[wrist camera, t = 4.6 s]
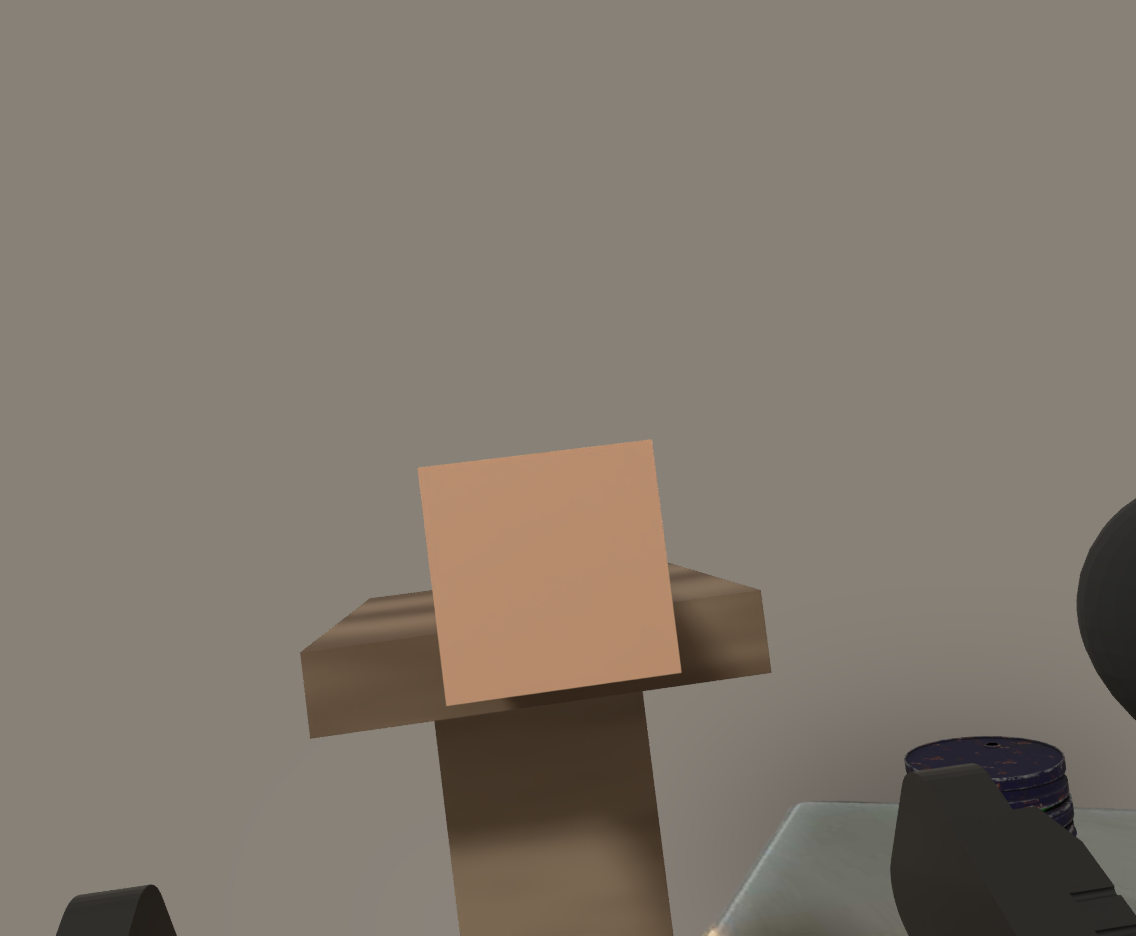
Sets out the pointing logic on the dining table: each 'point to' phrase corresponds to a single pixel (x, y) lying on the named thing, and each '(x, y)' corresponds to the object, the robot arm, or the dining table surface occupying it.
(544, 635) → the block
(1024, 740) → the storage jar
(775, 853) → the dining table surface
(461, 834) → the wooden pedestal stand
